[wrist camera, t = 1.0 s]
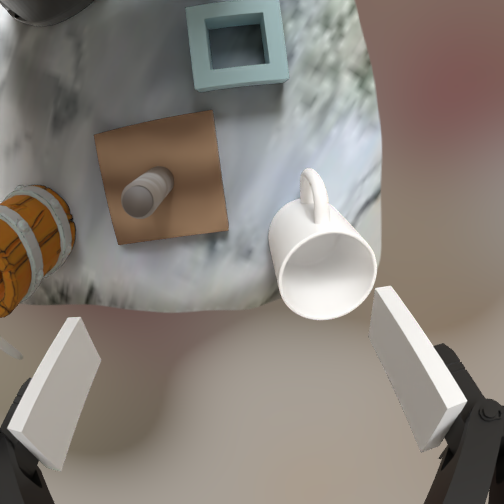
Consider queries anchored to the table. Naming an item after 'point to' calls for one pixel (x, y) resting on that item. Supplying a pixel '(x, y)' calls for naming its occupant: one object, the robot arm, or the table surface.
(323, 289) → the cup
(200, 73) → the ring
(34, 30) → the table surface
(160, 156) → the post block
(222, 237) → the table surface
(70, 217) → the mug
